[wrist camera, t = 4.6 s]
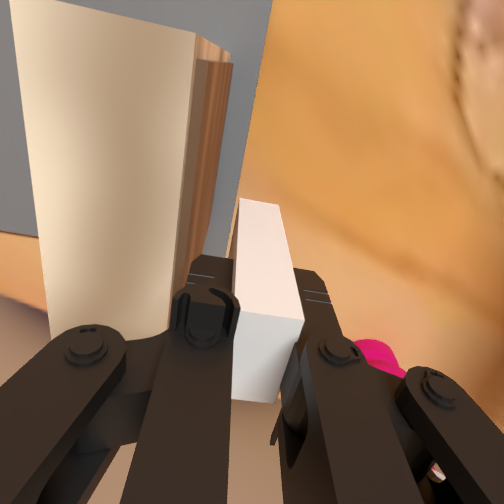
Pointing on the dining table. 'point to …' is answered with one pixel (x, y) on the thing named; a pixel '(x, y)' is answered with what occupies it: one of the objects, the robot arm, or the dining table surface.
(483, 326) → the dining table surface
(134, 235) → the brown wooden block
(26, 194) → the mat
